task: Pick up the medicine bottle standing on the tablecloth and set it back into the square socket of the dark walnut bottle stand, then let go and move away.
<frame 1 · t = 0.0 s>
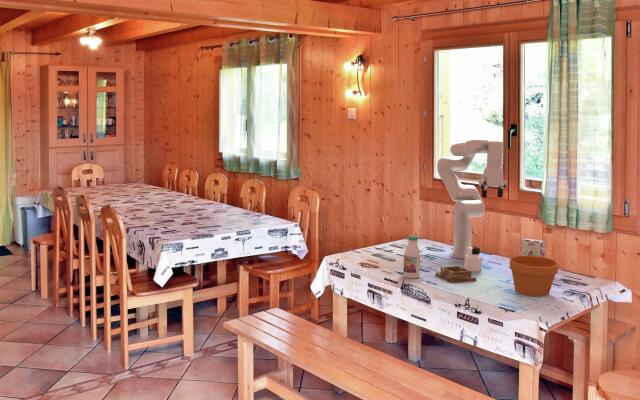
hand: (491, 197, 332), 37 cm above the table, tool pointing down, fingers open, 9 cm apart
flower pot: (531, 293, 290), on the table
bottle stand: (455, 278, 312), on the table
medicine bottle: (472, 270, 329), on the table
candy bar box: (531, 271, 331), on the table
milk bottle: (411, 277, 312), on the table
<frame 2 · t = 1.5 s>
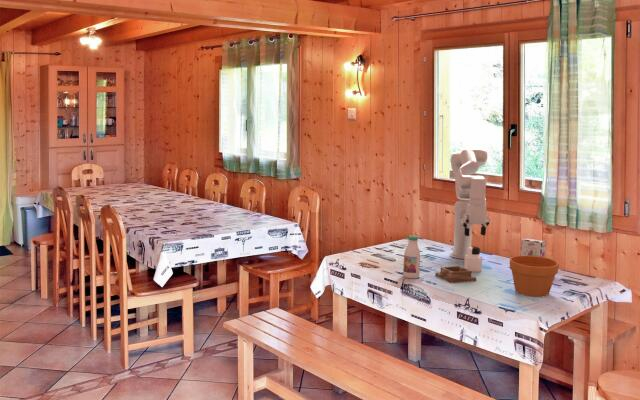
hand: (474, 235, 326), 18 cm above the table, tool pointing down, fingers open, 9 cm apart
nothing on the table moved.
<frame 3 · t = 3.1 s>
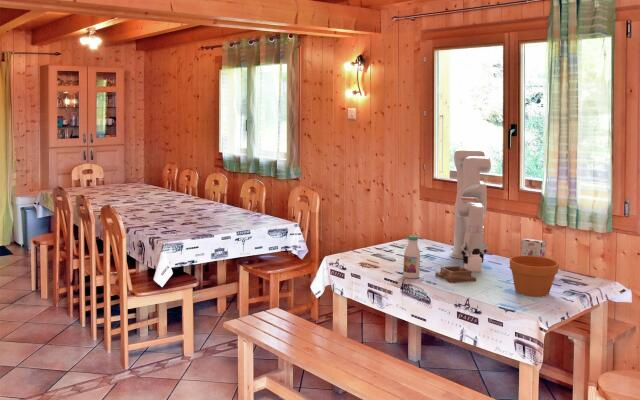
hand: (473, 262, 328), 4 cm above the table, tool pointing down, fingers closed on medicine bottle, 8 cm apart
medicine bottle: (472, 270, 329), on the table, touching gripper
everything else where it was.
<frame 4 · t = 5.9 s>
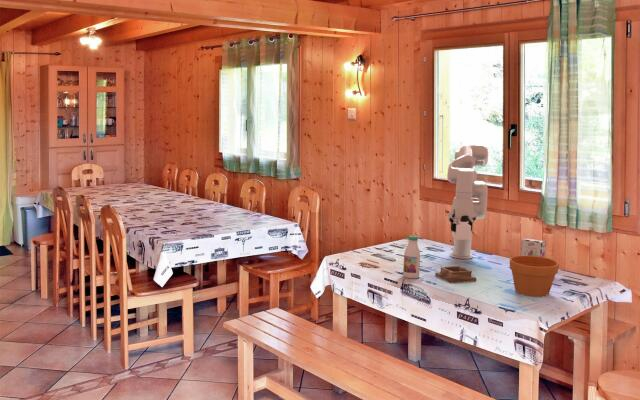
hand: (461, 230, 311), 23 cm above the table, tool pointing down, fingers closed on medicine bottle, 8 cm apart
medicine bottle: (460, 239, 312), point 19 cm above the table, touching gripper
everything else where it was.
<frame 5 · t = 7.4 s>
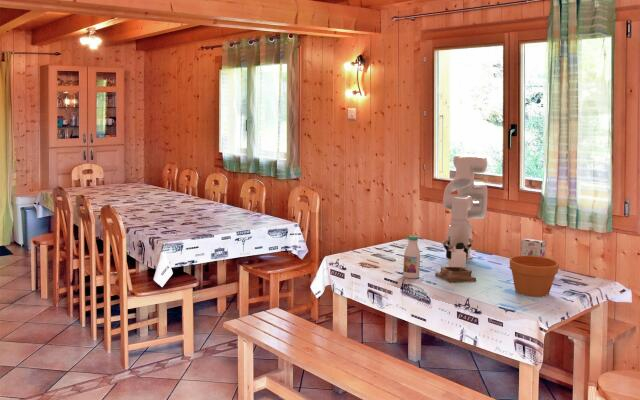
hand: (456, 257, 310), 10 cm above the table, tool pointing down, fingers closed on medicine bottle, 8 cm apart
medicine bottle: (456, 266, 311), point 6 cm above the table, touching gripper
everything else where it was.
when the fingers open (7 cm above the table, at t = 8.8 s): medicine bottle drops 1 cm, resting on bottle stand.
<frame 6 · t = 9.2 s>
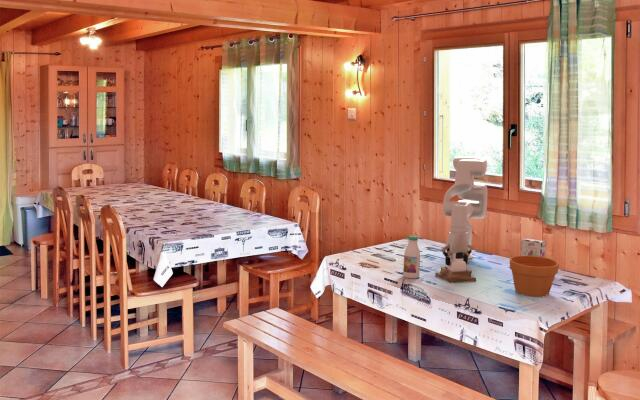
hand: (456, 264, 311), 7 cm above the table, tool pointing down, fingers open, 9 cm apart
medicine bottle: (455, 275, 312), point 1 cm above the table, touching bottle stand
everything else where it was.
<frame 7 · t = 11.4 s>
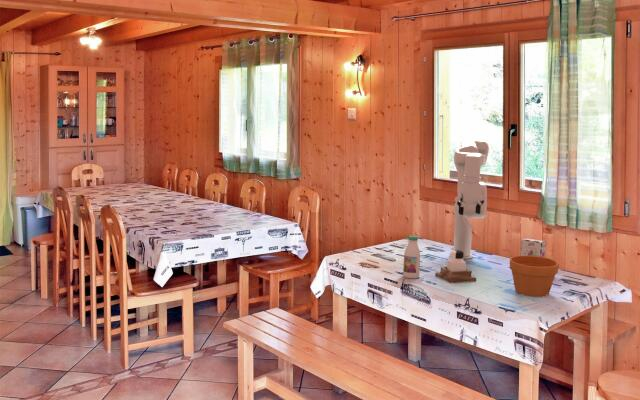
hand: (469, 214, 320), 30 cm above the table, tool pointing down, fingers open, 9 cm apart
nothing on the table moved.
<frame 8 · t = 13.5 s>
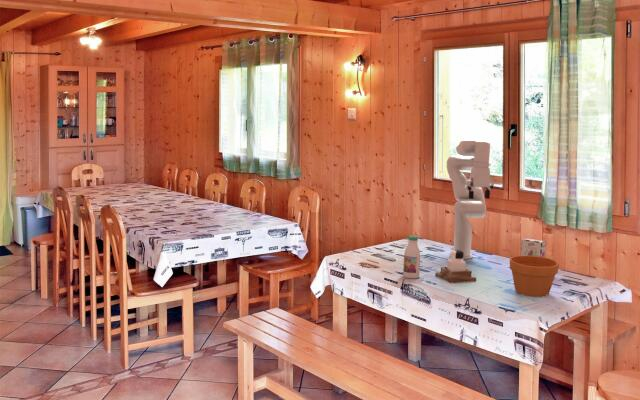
hand: (479, 198, 329), 36 cm above the table, tool pointing down, fingers open, 9 cm apart
nothing on the table moved.
at the end: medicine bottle 0.2 cm off-centre on the bottle stand, point 1.3 cm above the bottle stand's base; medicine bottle tilted 0°; the gripper is holding nothing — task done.
